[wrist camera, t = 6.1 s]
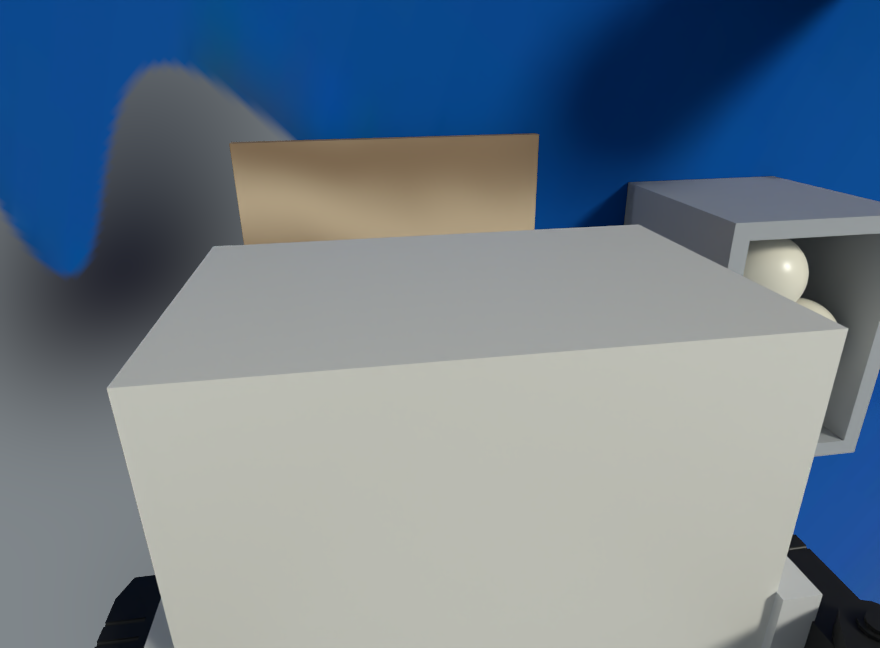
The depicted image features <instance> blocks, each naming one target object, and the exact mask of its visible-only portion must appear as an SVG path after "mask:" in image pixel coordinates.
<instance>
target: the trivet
mask: <svg viewBox="0 0 880 648" xmlns="http://www.w3.org/2000/svg"><path fill="white" fill-rule="evenodd" d="M538 144H539V134H536V133H531V134H497V135H463V136H428V137H394V138H360V139H326V140H291V141H258V142H231V143H230V152H231V159H232V165H233V172H234V178H235V186H236V192H237V200H238V207H239V213H240V220H241V227H242V234H243V241H244V245H251V244H271V243H290V242H309V241H329V240H348V239H367V238H387V237H406V236H425V235H445V234H464V233H483V232H503V231H522V230H534V225H535V205H536V185H537V164H538Z"/></svg>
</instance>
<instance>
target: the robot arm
mask: <svg viewBox="0 0 880 648" xmlns="http://www.w3.org/2000/svg"><path fill="white" fill-rule="evenodd" d="M105 623H106V625H105V627H104V628H103V630H102V632H101V634H100V636H99V639H98V641H97V647H95V648H174V645H173V641H172V638H171V634H170V630H169V626H168V622H167V618H166V615H165V611H164V607H163V603H162V599H161V595H160V592H159V588H158V584H157V580H156V576H155V575H153V576H144V577H136V578H134V579H133V580H132V581H131V583H130V584H129V585H128V586H127V587H126V588H125V589H124V590H123V591H122V593H121V594H120V595H119V596H118V597H117V598H116V599H115V602H114V604H113V606H112V608H111V611H110V613H109V615H108V618H107V620H106V622H105ZM761 648H880V604H877V603H875V602H872V601H865V600H860V599H859V598H858V597H857V596H856V595H855V594H854V593H853V592H852V591H851V590H850V589H849V588H848V587H847V586H846V585H845V584H844V583H843V582H842V581H841V580H840V579H839V578H838V577H837V576H836V575H835V574H834V573H833V572H832V571H831V570H830V569H829V568H828V567H827V566H826V565H825V564H824V563H823V562H822V561H821V560H820V559H819V558H818V557H817V556H816V555H815V554H814V553H813V552H812V551H811V550H810V549H807V548H806V545H805V544H804V543H803V542H802V541H801V540H800V539H799V538H798V537H797V536H796V535H792V539H791V542H790V546H789V550H788V553H787V557H786V561H785V564H784V568H783V572H782V575H781V579H780V583H779V587H778V590H777V592H776V595H775V598H774V602H773V606H772V609H771V613H770V617H769V621H768V624H767V628H766V632H765V635H764V639H763V643H762V646H761Z"/></svg>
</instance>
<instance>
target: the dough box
mask: <svg viewBox="0 0 880 648" xmlns="http://www.w3.org/2000/svg"><path fill="white" fill-rule="evenodd" d="M638 224H639V225H641V226H643V227H645V228H647V229H649V230H651V231H653V232H655V233H657V234H659V235H661V236H663V237H665V238H667V239H669V240H671V241H673V242H675V243H677V244H679V245H681V246H683V247H685V248H687V249H689V250H691V251H693V252H695V253H697V254H699V255H701V256H703V257H705V258H707V259H709V260H711V261H713V262H715V263H717V264H719V265H721V266H723V267H725V268H727V269H729V270H731V271H734V272H736V273H738V274H740V275H742V276H744V277H746V278H748V279H750V280H752V281H754V282H756V283H758V284H760V285H762V286H764V287H766V288H768V289H770V290H772V291H774V292H776V293H778V294H780V295H782V296H784V297H786V298H788V299H790V300H792V301H794V302H796V303H798V304H800V305H802V306H804V307H806V308H808V309H810V310H812V311H814V312H816V313H818V314H820V315H822V316H824V317H826V318H828V319H830V320H832V321H834V322H836V323H838V324H840V325H842V326H844V327H846V328H848V332H847V336H846V340H845V343H844V347H843V351H842V354H841V358H840V362H839V366H838V369H837V373H836V377H835V380H834V384H833V388H832V391H831V395H830V399H829V402H828V406H827V410H826V413H825V417H824V421H823V424H822V428H821V432H820V436H819V439H818V443H817V447H816V450H815V454H814V456H823V455H832V454H841V453H850V452H854V450H855V447H856V444H857V440H858V437H859V434H860V431H861V427H862V424H863V421H864V418H865V414H866V411H867V408H868V405H869V401H870V398H871V395H872V392H873V388H874V385H875V382H876V379H877V375H878V372H879V369H880V202H878V201H874V200H870V199H866V198H862V197H857V196H853V195H849V194H845V193H841V192H837V191H832V190H828V189H824V188H820V187H816V186H812V185H807V184H803V183H799V182H795V181H791V180H786V179H782V178H778V177H774V176H769V177H745V178H721V179H697V180H673V181H649V182H628V191H627V201H626V210H625V219H624V225H638Z"/></svg>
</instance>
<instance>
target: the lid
mask: <svg viewBox="0 0 880 648" xmlns="http://www.w3.org/2000/svg"><path fill="white" fill-rule="evenodd" d="M847 332H848V328H846V327H844V326H842V325H840V324H838V323H836V322H834V321H832V320H830V319H828V318H826V317H824V316H822V315H820V314H818V313H816V312H814V311H812V310H810V309H808V308H806V307H804V306H802V305H800V304H798V303H796V302H794V301H792V300H790V299H788V298H786V297H784V296H782V295H780V294H778V293H776V292H774V291H772V290H770V289H768V288H766V287H764V286H762V285H760V284H758V283H756V282H754V281H752V280H750V279H748V278H746V277H744V276H742V275H740V274H738V273H736V272H734V271H731V270H729V269H727V268H725V267H723V266H721V265H719V264H717V263H715V262H713V261H711V260H709V259H707V258H705V257H703V256H701V255H699V254H697V253H695V252H693V251H691V250H689V249H687V248H685V247H683V246H681V245H679V244H677V243H675V242H673V241H671V240H669V239H667V238H665V237H663V236H661V235H659V234H657V233H655V232H653V231H651V230H649V229H647V228H645V227H643V226H641V225H639V224H638V225H619V226H599V227H580V228H561V229H541V230H522V231H503V232H483V233H464V234H445V235H425V236H406V237H387V238H367V239H348V240H329V241H309V242H290V243H271V244H251V245H232V246H213V248H212V249H211V250H210V252H209V253H208V254H207V256H206V257H205V258H204V260H203V261H202V262H201V264H200V265H199V266H198V268H197V269H196V270H195V272H194V273H193V274H192V276H191V277H190V278H189V280H188V281H187V283H186V284H185V285H184V286H183V288H182V289H181V290H180V292H179V293H178V294H177V296H176V297H175V298H174V300H173V301H172V302H171V304H170V305H169V306H168V308H167V309H166V310H165V312H164V313H163V314H162V316H161V317H160V318H159V320H158V321H157V322H156V323H155V325H154V326H153V328H152V329H151V330H150V332H149V333H148V334H147V335H146V337H145V338H144V339H143V341H142V342H141V343H140V345H139V346H138V347H137V349H136V350H135V352H134V353H133V354H132V356H131V357H130V358H129V359H128V361H127V362H126V363H125V365H124V366H123V367H122V369H121V370H120V371H119V373H118V374H117V375H116V377H115V378H114V380H113V381H112V382H111V383H110V385H109V386H108V387H107V391H108V395H109V399H110V403H111V407H112V411H113V415H114V419H115V422H116V426H117V430H118V434H119V437H120V442H121V446H122V449H123V453H124V457H125V460H126V465H127V469H128V472H129V476H130V480H131V484H132V488H133V492H134V496H135V499H136V503H137V507H138V511H139V515H140V519H141V522H142V526H143V530H144V534H145V538H146V542H147V545H148V549H149V553H150V557H151V561H152V564H153V568H154V572H155V576H156V580H157V584H158V588H159V592H160V595H161V599H162V603H163V607H164V611H165V615H166V618H167V622H168V626H169V630H170V634H171V638H172V641H173V645H174V648H761V646H762V643H763V639H764V635H765V632H766V628H767V624H768V621H769V617H770V613H771V609H772V606H773V602H774V598H775V595H776V592H777V590H778V587H779V583H780V579H781V575H782V572H783V568H784V564H785V561H786V557H787V553H788V550H789V546H790V542H791V539H792V535H793V531H794V528H795V524H796V520H797V517H798V513H799V509H800V505H801V502H802V498H803V494H804V491H805V487H806V483H807V480H808V476H809V472H810V469H811V465H812V461H813V458H814V454H815V450H816V447H817V443H818V439H819V436H820V432H821V428H822V424H823V421H824V417H825V413H826V410H827V406H828V402H829V399H830V395H831V391H832V388H833V384H834V380H835V377H836V373H837V369H838V366H839V362H840V358H841V354H842V351H843V347H844V343H845V340H846V336H847Z"/></svg>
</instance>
